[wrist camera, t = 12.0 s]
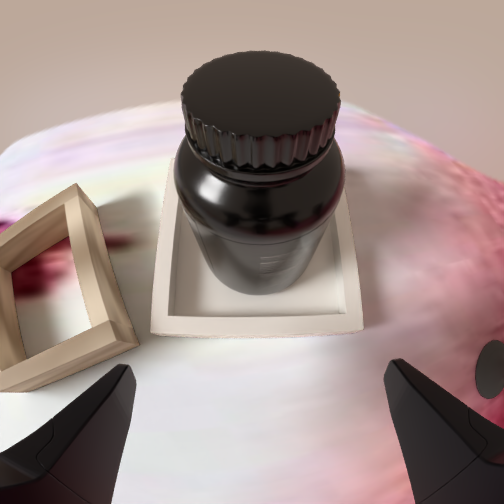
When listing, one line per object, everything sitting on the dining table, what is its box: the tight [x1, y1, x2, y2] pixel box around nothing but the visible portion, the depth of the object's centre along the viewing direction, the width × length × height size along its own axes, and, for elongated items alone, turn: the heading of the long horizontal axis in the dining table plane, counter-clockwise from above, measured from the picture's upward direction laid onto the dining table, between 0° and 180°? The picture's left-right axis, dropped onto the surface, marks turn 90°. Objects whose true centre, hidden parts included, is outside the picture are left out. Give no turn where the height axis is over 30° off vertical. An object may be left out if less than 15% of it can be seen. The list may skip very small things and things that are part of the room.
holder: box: [0, 183, 140, 393], centre depth 16 cm, size 11×11×4 cm
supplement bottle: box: [173, 51, 345, 295], centre depth 13 cm, size 7×7×12 cm
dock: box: [150, 158, 364, 338], centre depth 18 cm, size 12×12×2 cm
